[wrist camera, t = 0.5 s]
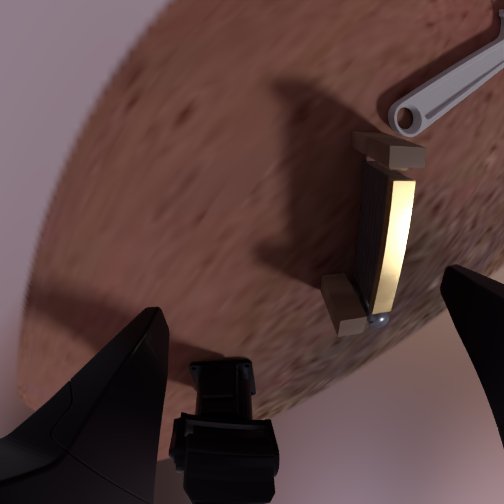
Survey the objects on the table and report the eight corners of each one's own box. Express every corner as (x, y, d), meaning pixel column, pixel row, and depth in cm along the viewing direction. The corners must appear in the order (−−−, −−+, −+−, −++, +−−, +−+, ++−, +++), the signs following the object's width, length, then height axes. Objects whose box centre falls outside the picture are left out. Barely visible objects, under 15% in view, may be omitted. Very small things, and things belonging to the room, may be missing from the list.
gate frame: (344, 291, 24) (365, 335, 20) (317, 290, 24) (333, 337, 19) (385, 133, 18) (428, 148, 13) (353, 125, 17) (391, 138, 13)
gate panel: (365, 289, 24) (386, 327, 20) (349, 291, 24) (367, 330, 20) (380, 161, 18) (416, 181, 14) (360, 160, 18) (393, 181, 14)
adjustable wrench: (394, 141, 19) (406, 146, 17) (353, 65, 16) (363, 63, 14) (537, 57, 12) (548, 59, 10) (515, 5, 9) (526, 4, 8)
